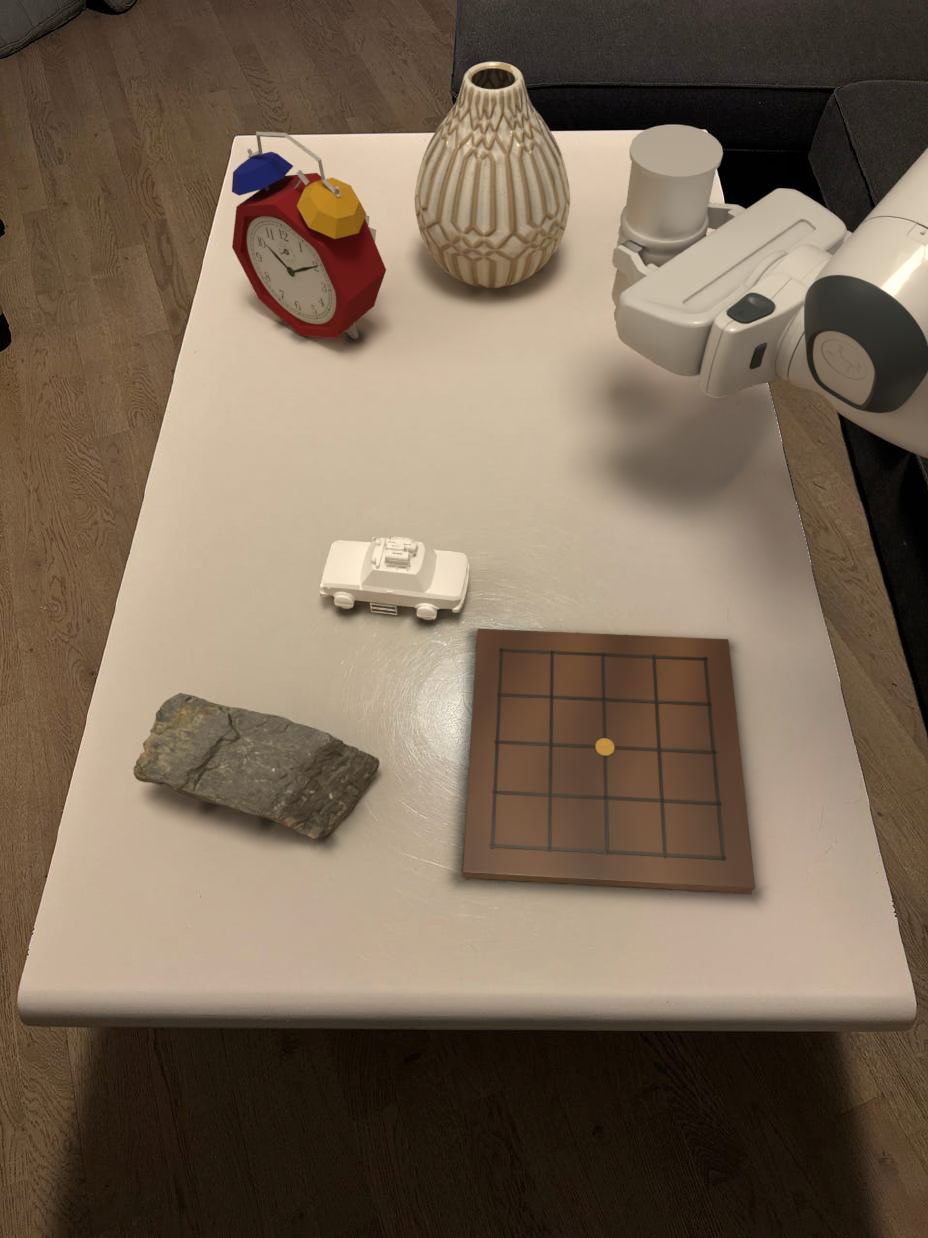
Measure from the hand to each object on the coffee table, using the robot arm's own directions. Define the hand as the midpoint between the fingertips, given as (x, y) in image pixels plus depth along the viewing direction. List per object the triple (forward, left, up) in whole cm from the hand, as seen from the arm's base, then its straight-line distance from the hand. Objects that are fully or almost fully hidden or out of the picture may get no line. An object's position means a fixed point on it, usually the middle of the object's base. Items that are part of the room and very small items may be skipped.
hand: (653, 229), depth 75 cm
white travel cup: (-1, +1, -8) cm, 8 cm away
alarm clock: (+31, -12, -19) cm, 38 cm away
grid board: (+3, +37, -19) cm, 42 cm away
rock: (+28, +41, -19) cm, 53 cm away
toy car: (+20, +23, -19) cm, 36 cm away
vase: (+14, -21, -19) cm, 31 cm away
